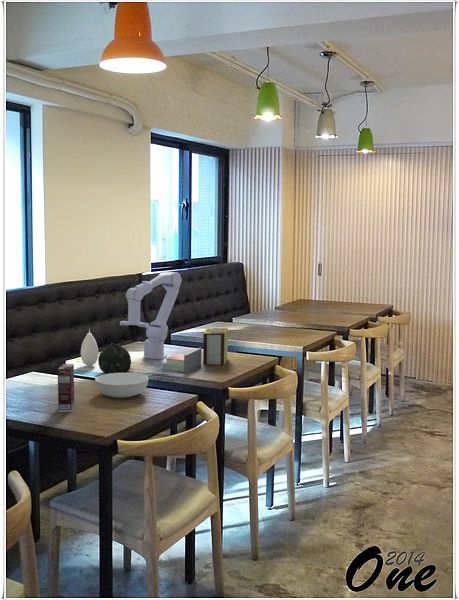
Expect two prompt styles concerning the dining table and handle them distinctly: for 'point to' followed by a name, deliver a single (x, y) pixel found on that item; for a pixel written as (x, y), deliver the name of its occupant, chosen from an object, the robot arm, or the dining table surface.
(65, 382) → the supplement box
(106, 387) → the serving bowl
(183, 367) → the grey printed box
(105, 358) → the squash
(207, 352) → the protein box
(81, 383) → the dining table surface
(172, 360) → the carton
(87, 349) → the white teardrop bulb
